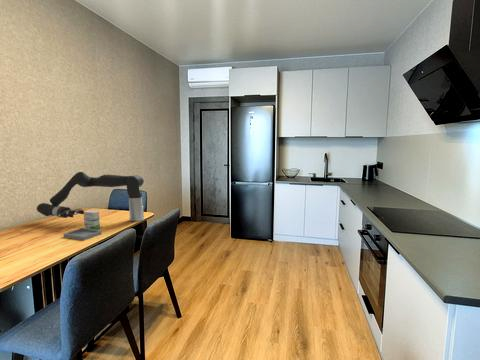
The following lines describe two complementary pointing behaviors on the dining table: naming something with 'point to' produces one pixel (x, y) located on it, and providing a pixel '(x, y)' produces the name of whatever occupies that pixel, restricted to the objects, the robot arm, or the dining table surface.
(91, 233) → the tray
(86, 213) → the ink box
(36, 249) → the dining table surface
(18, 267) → the dining table surface
